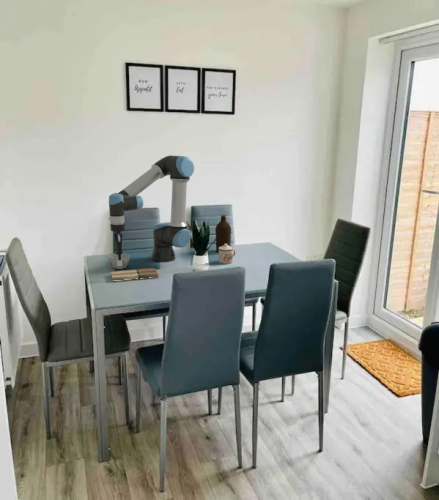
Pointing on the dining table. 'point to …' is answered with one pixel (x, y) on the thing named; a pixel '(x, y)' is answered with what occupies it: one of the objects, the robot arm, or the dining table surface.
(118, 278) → the oak plank
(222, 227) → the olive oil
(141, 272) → the walnut floor section
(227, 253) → the teacup with lid
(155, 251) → the robot arm
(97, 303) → the dining table surface
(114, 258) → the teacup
